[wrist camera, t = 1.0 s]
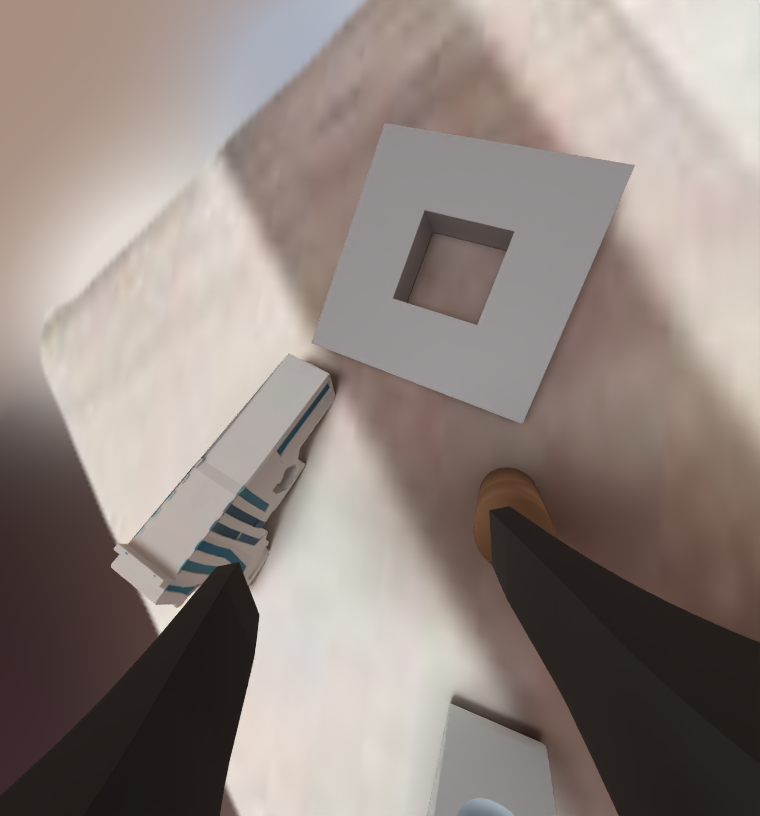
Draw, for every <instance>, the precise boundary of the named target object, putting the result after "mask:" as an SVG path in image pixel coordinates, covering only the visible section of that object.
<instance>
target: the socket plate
mask: <svg viewBox="0 0 760 816" xmlns="http://www.w3.org/2000/svg"><path fill="white" fill-rule="evenodd" d="M634 166H635V165H630V164H624V163H618V162H613V161H607V160H601V159H595V158H589V157H583V156H577V155H571V154H565V153H559V152H553V151H547V150H541V149H535V148H529V147H523V146H517V145H512V144H506V143H500V142H494V141H488V140H482V139H476V138H470V137H464V136H458V135H452V134H446V133H440V132H434V131H428V130H422V129H416V128H411V127H405V126H399V125H393V124H387V123H385V124H384V127H383V130H382V133H381V136H380V139H379V142H378V145H377V148H376V151H375V154H374V157H373V160H372V163H371V166H370V169H369V172H368V175H367V178H366V181H365V184H364V187H363V190H362V193H361V196H360V199H359V202H358V205H357V208H356V211H355V214H354V217H353V220H352V223H351V226H350V229H349V232H348V235H347V238H346V241H345V244H344V247H343V250H342V253H341V256H340V259H339V262H338V265H337V268H336V271H335V274H334V277H333V280H332V283H331V286H330V289H329V292H328V295H327V298H326V301H325V304H324V307H323V310H322V313H321V316H320V319H319V322H318V325H317V328H316V331H315V334H314V337H313V340H312V343H313V344H315V345H318V346H321V347H323V348H326V349H328V350H331V351H334V352H336V353H339V354H341V355H344V356H347V357H349V358H352V359H354V360H357V361H360V362H362V363H365V364H367V365H370V366H373V367H375V368H378V369H380V370H383V371H386V372H388V373H391V374H393V375H396V376H399V377H401V378H404V379H406V380H409V381H412V382H414V383H417V384H419V385H422V386H425V387H427V388H430V389H432V390H435V391H438V392H440V393H443V394H445V395H448V396H451V397H453V398H456V399H458V400H461V401H464V402H466V403H469V404H471V405H474V406H477V407H479V408H482V409H484V410H487V411H490V412H492V413H495V414H497V415H500V416H503V417H505V418H508V419H510V420H513V421H516V422H518V423H521V424H523V421H524V419H525V417H526V415H527V412H528V410H529V408H530V405H531V403H532V401H533V398H534V396H535V394H536V392H537V389H538V387H539V385H540V382H541V380H542V378H543V375H544V373H545V371H546V369H547V366H548V364H549V362H550V359H551V357H552V355H553V352H554V350H555V348H556V346H557V343H558V341H559V339H560V336H561V334H562V332H563V329H564V327H565V325H566V323H567V320H568V318H569V316H570V313H571V311H572V309H573V306H574V304H575V302H576V300H577V297H578V295H579V293H580V290H581V288H582V286H583V283H584V281H585V279H586V277H587V274H588V272H589V270H590V267H591V265H592V263H593V260H594V258H595V256H596V254H597V251H598V249H599V247H600V244H601V242H602V240H603V237H604V235H605V233H606V231H607V228H608V226H609V224H610V221H611V219H612V217H613V214H614V212H615V210H616V208H617V205H618V203H619V201H620V198H621V196H622V194H623V191H624V189H625V187H626V185H627V182H628V180H629V178H630V175H631V173H632V171H633V168H634ZM433 232H435V233H439V234H443V235H447V236H451V237H455V238H459V239H463V240H466V241H470V242H474V243H478V244H482V245H486V246H490V247H494V248H498V249H502V250H506V251H507V252H506V254H505V257H504V259H503V262H502V264H501V267H500V269H499V272H498V274H497V277H496V279H495V282H494V284H493V287H492V289H491V292H490V294H489V297H488V299H487V302H486V304H485V307H484V309H483V312H482V314H481V317H480V319H479V322H478V324H477V325H475V324H472V323H469V322H465V321H462V320H459V319H456V318H453V317H450V316H447V315H443V314H440V313H437V312H434V311H431V310H428V309H425V308H422V307H418V306H415V305H412V304H409V303H407V301H408V298H409V295H410V293H411V290H412V287H413V285H414V282H415V279H416V276H417V274H418V271H419V268H420V265H421V263H422V260H423V257H424V255H425V252H426V249H427V246H428V244H429V241H430V238H431V235H432V233H433Z"/></svg>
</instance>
